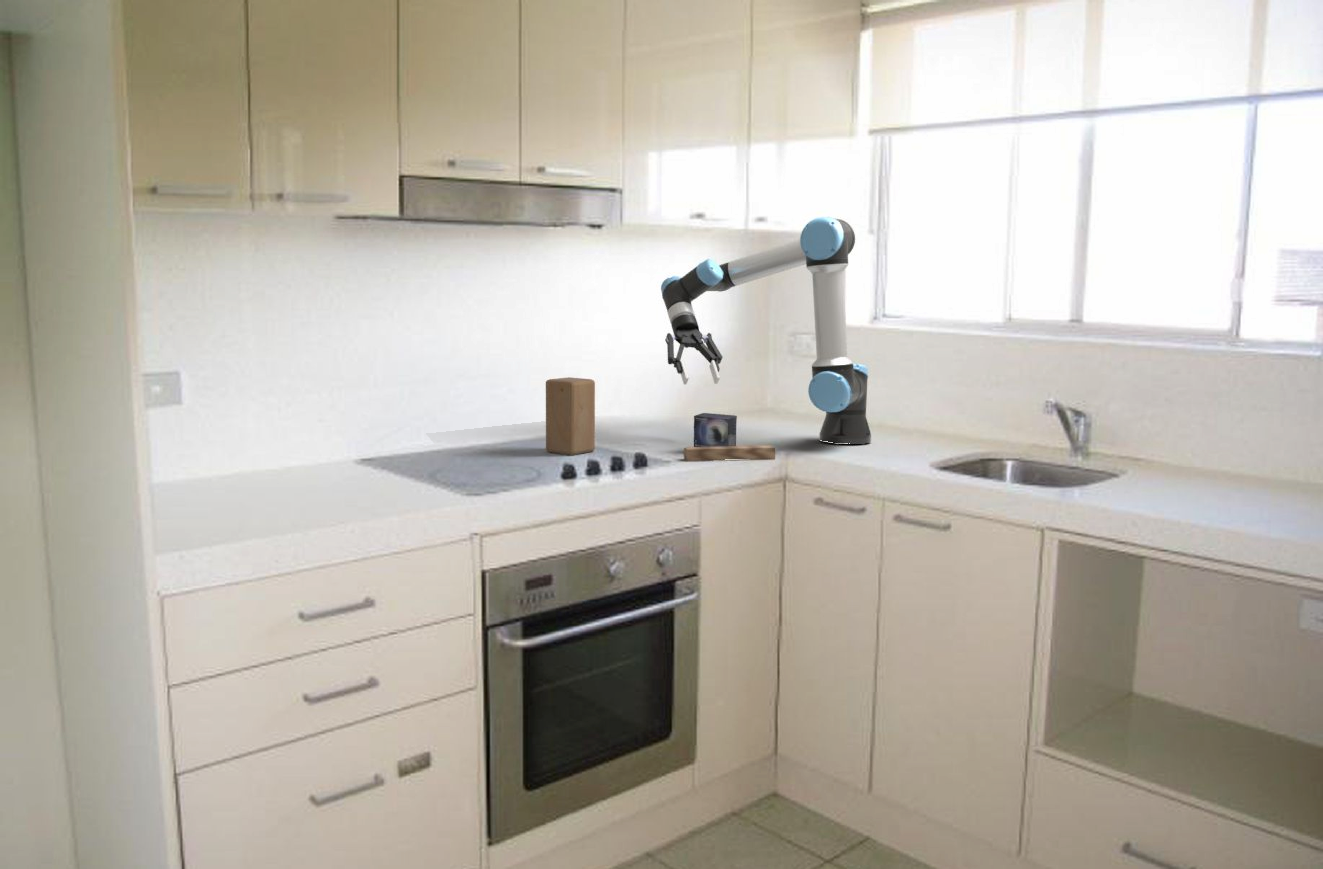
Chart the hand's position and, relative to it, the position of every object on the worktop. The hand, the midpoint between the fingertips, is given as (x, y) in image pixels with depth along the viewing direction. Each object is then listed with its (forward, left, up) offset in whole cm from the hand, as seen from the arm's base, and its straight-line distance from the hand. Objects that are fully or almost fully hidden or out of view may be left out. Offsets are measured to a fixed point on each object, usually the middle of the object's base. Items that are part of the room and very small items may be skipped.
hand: (701, 380), depth 311 cm
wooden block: (+38, 0, -19) cm, 42 cm away
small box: (0, +11, -19) cm, 22 cm away
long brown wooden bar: (0, +22, -19) cm, 29 cm away
